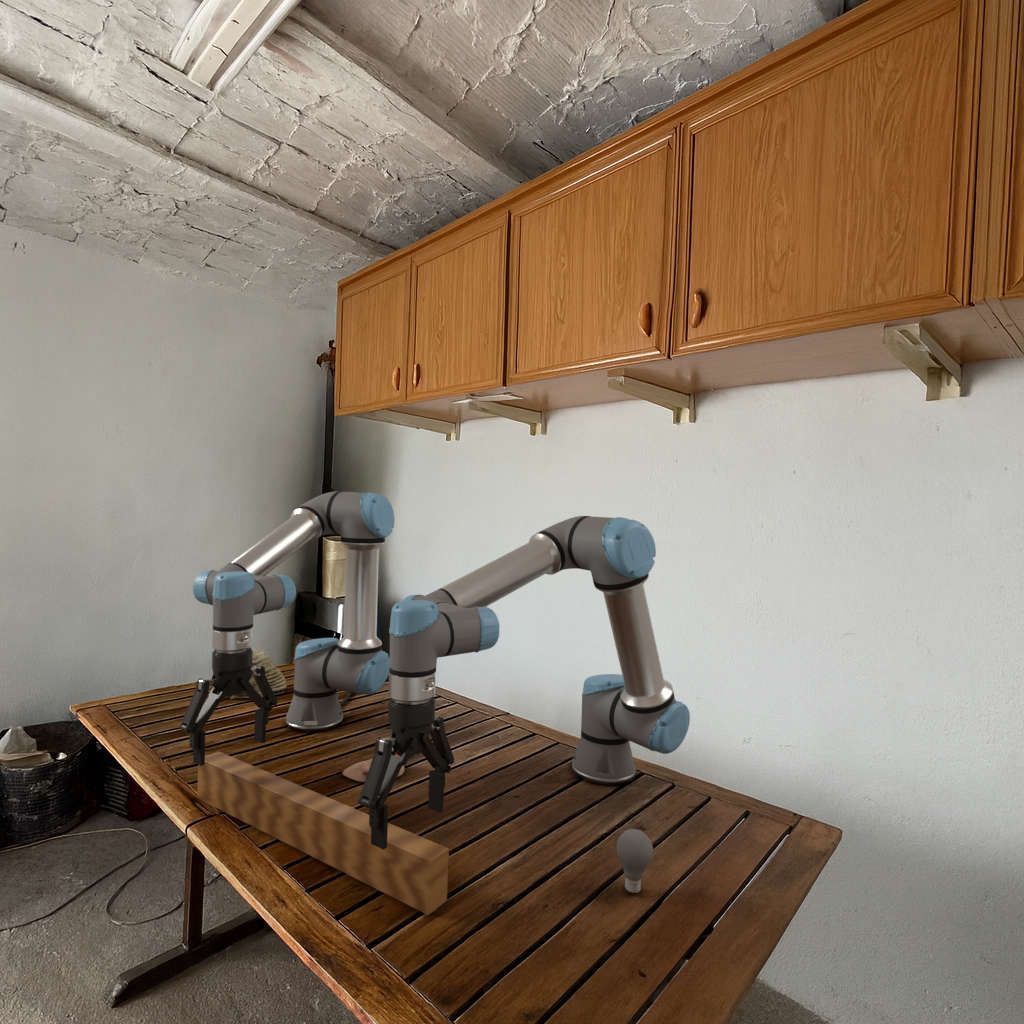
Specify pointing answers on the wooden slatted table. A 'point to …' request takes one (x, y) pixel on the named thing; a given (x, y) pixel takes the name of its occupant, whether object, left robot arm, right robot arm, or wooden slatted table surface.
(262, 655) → the fossil
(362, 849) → the beam
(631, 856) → the light bulb
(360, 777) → the anatomical model
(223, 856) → the wooden slatted table surface
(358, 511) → the left robot arm
